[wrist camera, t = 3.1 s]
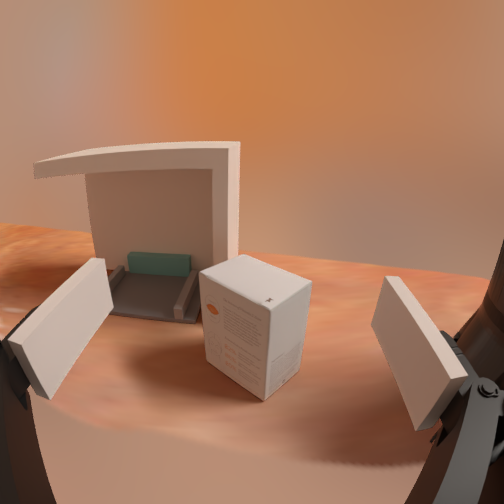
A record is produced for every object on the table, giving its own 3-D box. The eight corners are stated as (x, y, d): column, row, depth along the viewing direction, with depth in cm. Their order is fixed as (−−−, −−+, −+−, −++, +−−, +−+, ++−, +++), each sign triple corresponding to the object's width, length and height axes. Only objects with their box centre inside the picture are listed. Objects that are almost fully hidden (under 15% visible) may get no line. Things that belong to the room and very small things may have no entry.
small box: (300, 371, 28) (316, 280, 24) (263, 403, 24) (271, 310, 20) (242, 337, 33) (243, 251, 28) (204, 360, 29) (197, 270, 25)
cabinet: (228, 326, 34) (228, 148, 26) (61, 306, 35) (33, 163, 27) (237, 273, 47) (240, 141, 39) (102, 264, 47) (88, 149, 39)
